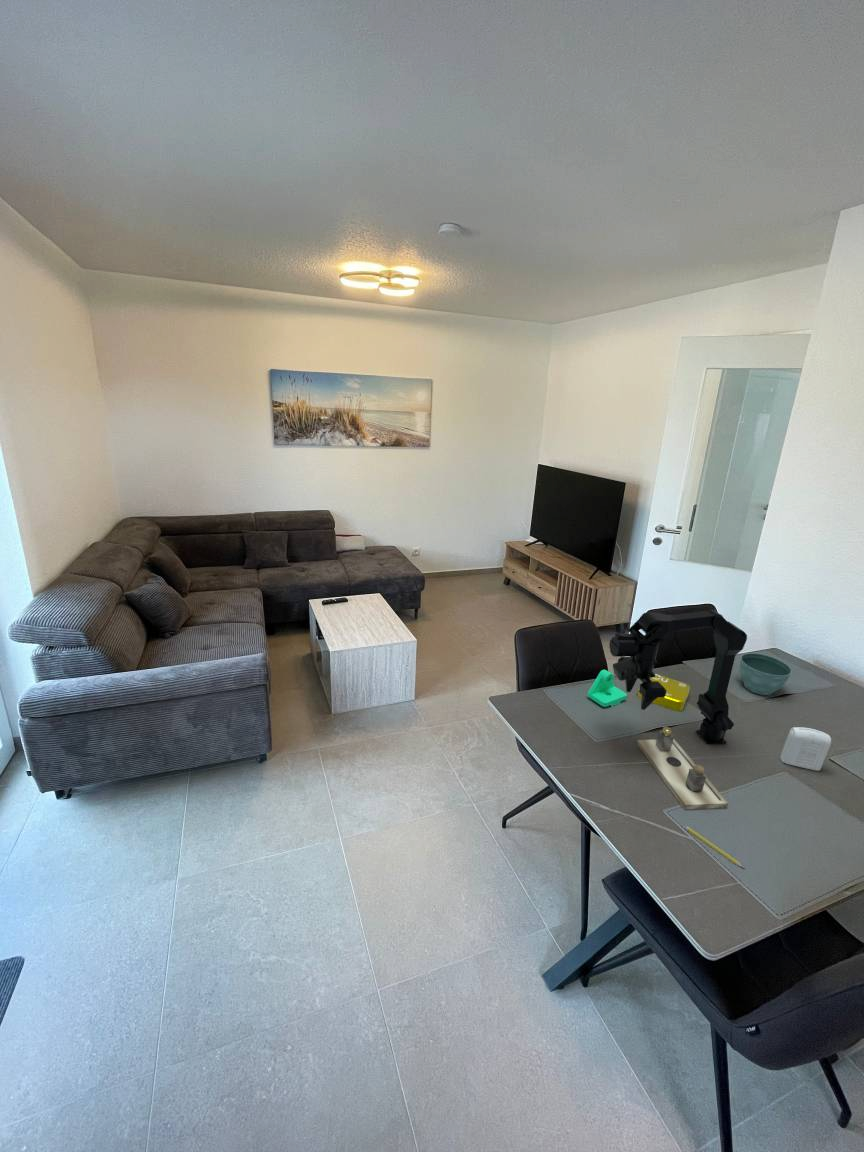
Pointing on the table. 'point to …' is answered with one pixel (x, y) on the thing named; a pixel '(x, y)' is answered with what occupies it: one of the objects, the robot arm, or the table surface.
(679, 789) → the bolt plate
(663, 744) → the sliding leg
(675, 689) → the element tile
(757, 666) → the flower pot
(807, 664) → the table surface
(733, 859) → the pencil
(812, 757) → the photo printer
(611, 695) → the camera mount
